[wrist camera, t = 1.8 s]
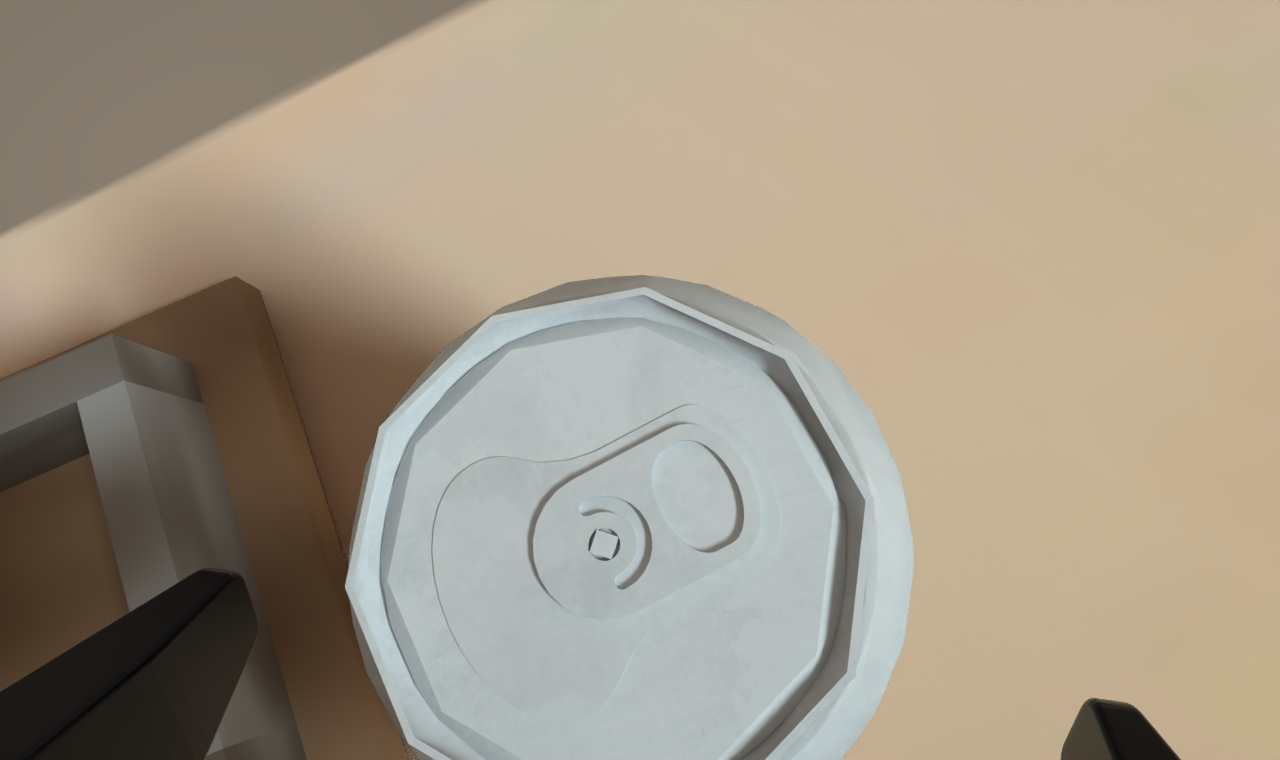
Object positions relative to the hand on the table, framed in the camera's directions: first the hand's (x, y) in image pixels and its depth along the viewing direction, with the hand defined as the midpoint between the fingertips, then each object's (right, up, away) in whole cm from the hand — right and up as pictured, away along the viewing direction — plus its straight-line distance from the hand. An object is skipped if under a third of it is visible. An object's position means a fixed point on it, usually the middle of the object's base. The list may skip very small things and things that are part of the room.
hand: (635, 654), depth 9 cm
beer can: (+1, -1, +9) cm, 9 cm away
